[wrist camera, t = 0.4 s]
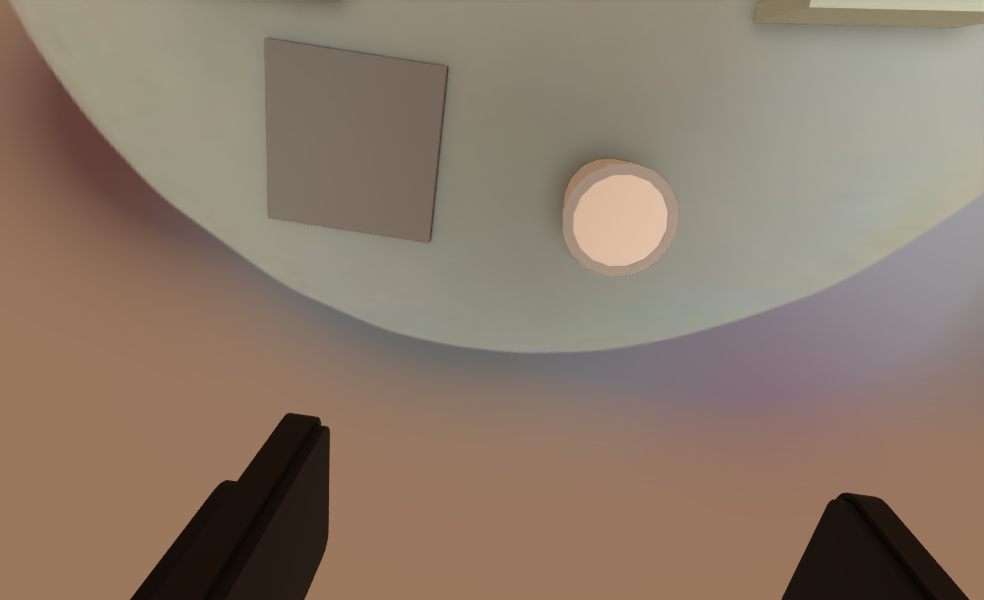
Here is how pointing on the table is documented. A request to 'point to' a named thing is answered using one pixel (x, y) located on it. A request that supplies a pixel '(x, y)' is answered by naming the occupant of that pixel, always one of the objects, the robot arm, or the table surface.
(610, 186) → the beige short cylinder
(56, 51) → the table surface
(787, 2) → the angle bracket and nut
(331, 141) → the rubber mat
